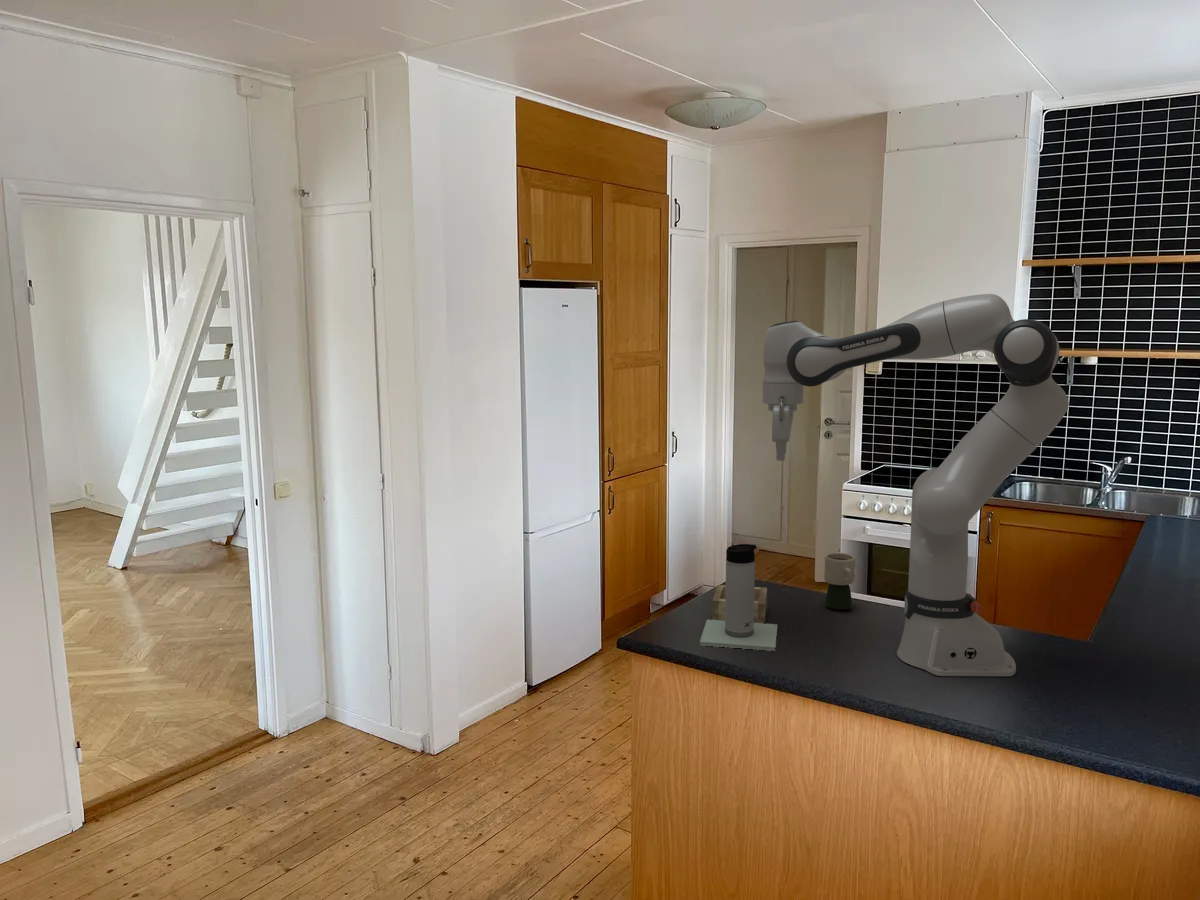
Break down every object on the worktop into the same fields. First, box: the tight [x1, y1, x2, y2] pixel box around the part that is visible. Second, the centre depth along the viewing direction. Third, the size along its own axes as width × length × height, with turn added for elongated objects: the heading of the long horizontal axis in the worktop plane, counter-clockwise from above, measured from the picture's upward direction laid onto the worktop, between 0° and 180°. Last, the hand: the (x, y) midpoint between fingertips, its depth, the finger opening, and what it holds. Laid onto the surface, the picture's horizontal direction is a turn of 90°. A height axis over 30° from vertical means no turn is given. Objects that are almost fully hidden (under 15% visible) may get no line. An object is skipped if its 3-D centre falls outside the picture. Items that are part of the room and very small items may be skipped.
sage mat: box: [699, 619, 778, 652], centre depth 193 cm, size 16×14×1 cm
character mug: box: [823, 552, 856, 611], centre depth 210 cm, size 11×7×13 cm, turn 10°
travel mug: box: [725, 543, 758, 637], centre depth 191 cm, size 6×7×20 cm
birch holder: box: [711, 584, 768, 624], centre depth 207 cm, size 12×12×5 cm
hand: (781, 456), depth 195 cm, fingers open, 8 cm apart
